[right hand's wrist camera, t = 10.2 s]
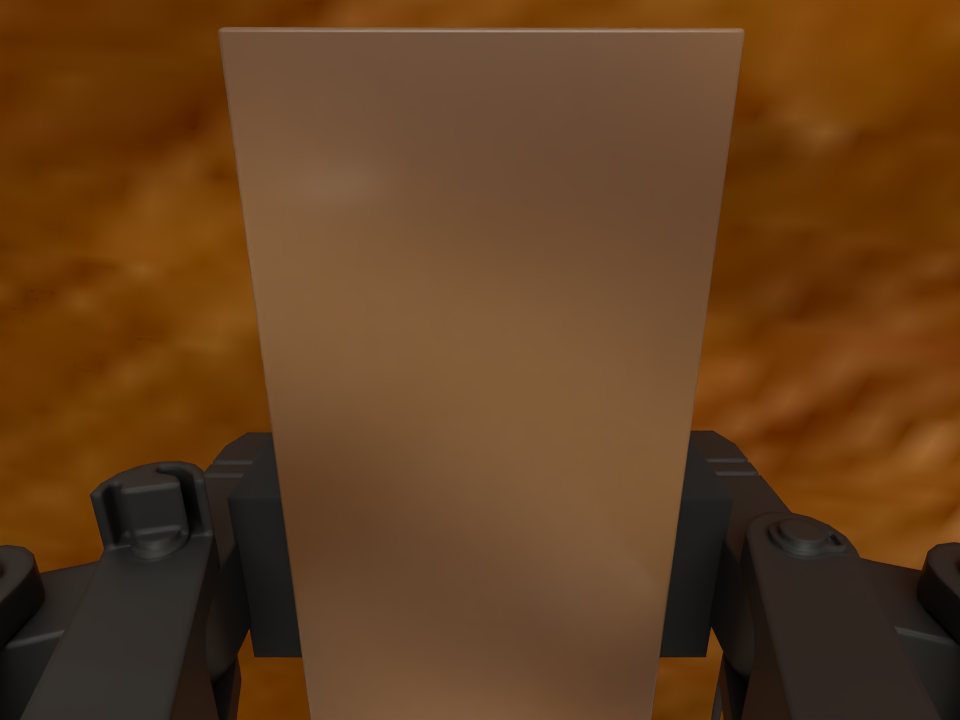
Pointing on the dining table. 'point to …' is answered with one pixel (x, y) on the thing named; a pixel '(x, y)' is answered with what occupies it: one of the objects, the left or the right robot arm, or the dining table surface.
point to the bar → (481, 349)
